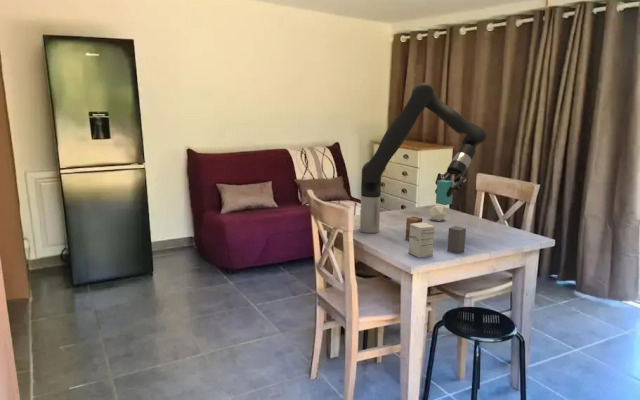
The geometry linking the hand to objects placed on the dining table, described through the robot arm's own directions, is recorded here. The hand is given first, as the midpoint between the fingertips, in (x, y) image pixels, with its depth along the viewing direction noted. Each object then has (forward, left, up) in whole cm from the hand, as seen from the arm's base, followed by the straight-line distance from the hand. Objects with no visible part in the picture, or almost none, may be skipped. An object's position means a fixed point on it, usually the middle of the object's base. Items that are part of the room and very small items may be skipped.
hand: (442, 194), depth 214 cm
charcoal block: (+5, -10, -22) cm, 25 cm away
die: (+7, +43, -22) cm, 49 cm away
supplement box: (-11, -16, -22) cm, 30 cm away
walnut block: (-10, +5, -22) cm, 25 cm away
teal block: (+1, +1, -4) cm, 5 cm away
